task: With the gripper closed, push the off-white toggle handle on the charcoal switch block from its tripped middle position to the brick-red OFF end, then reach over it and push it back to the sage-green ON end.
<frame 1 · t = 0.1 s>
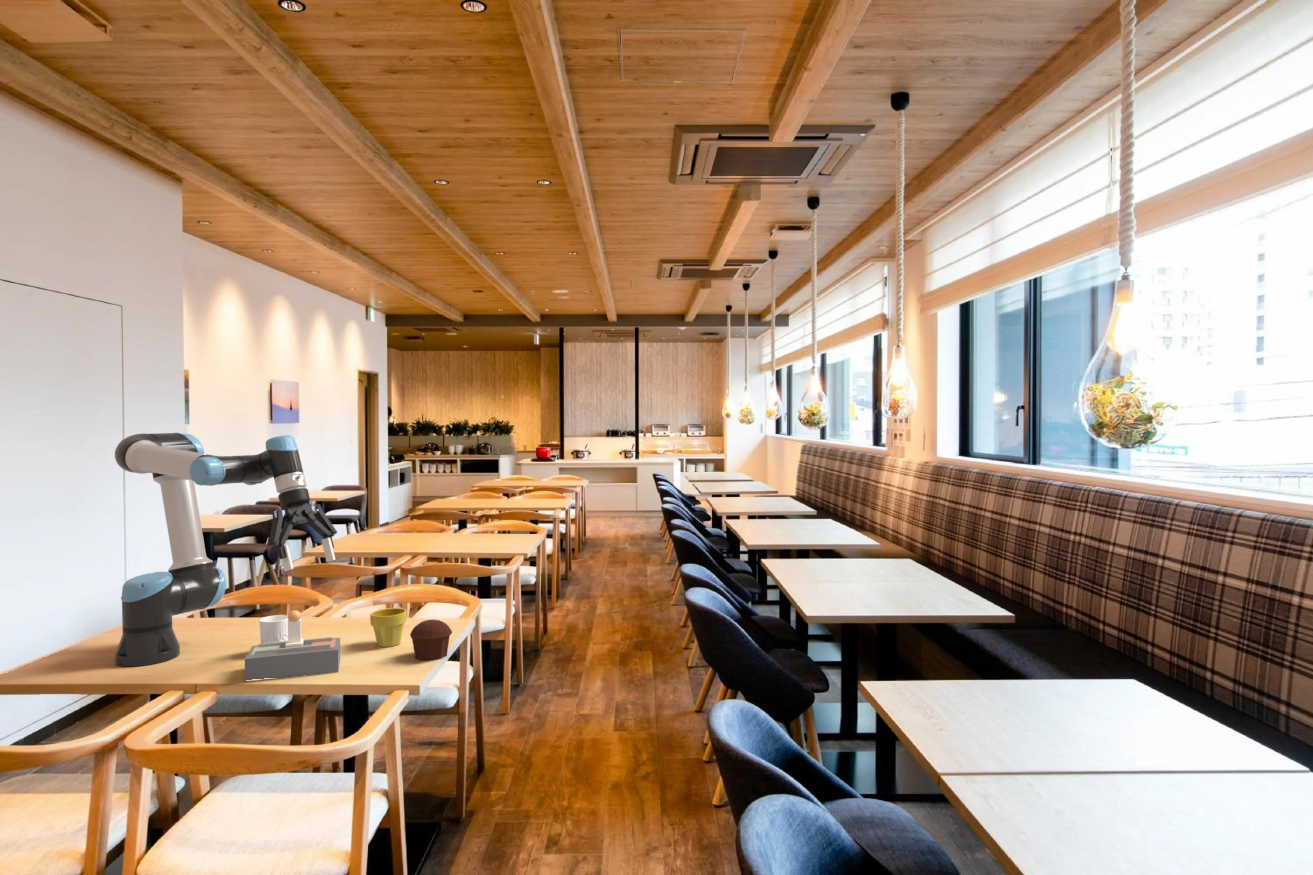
hand: (310, 565, 201), 28 cm above the table, tool tilted 20°, fingers open, 13 cm apart
plant pot: (388, 644, 222), on the table
white cup: (275, 653, 214), on the table
switch block: (294, 669, 198), on the table
lever: (294, 628, 198), point 11 cm above the table, slide at 0.0 cm
muffin: (431, 656, 210), on the table
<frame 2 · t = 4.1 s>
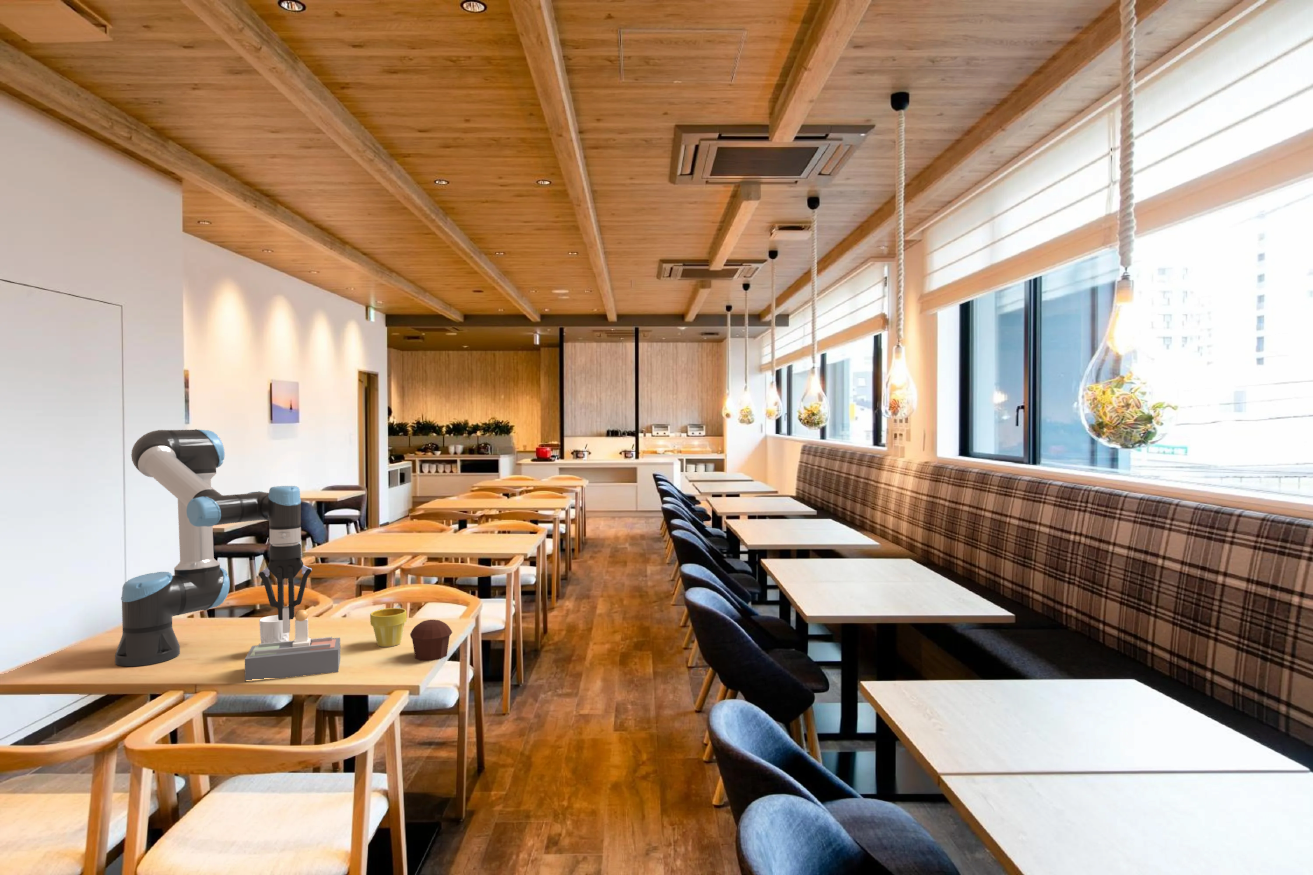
hand: (286, 631, 197), 11 cm above the table, tool pointing down, fingers closed
lever: (301, 627, 199), point 11 cm above the table, slide at 1.7 cm, touching gripper
everything else where it was.
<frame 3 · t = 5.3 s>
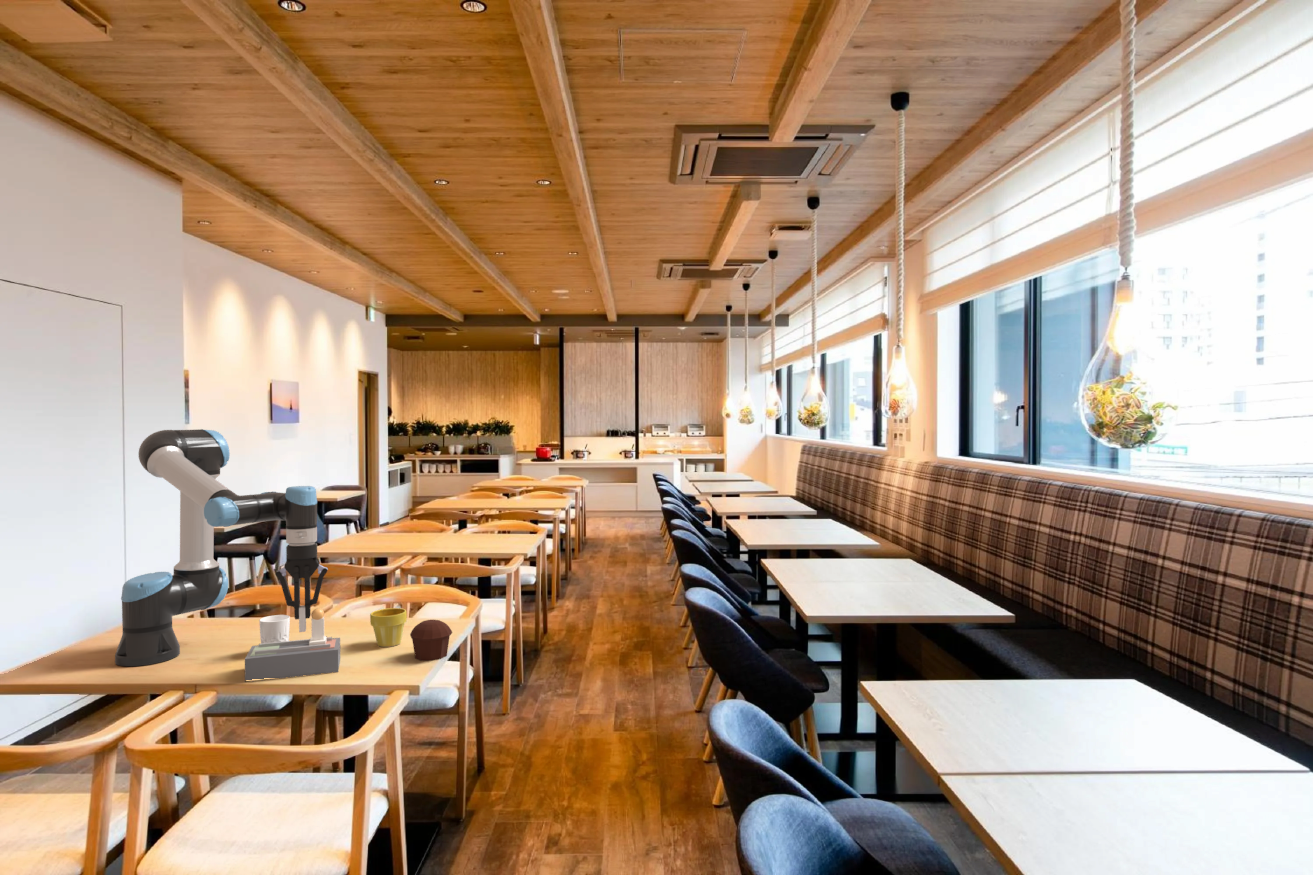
hand: (302, 630, 199), 10 cm above the table, tool pointing down, fingers closed
lever: (317, 626, 200), point 11 cm above the table, slide at 5.7 cm, touching gripper
everything else where it was.
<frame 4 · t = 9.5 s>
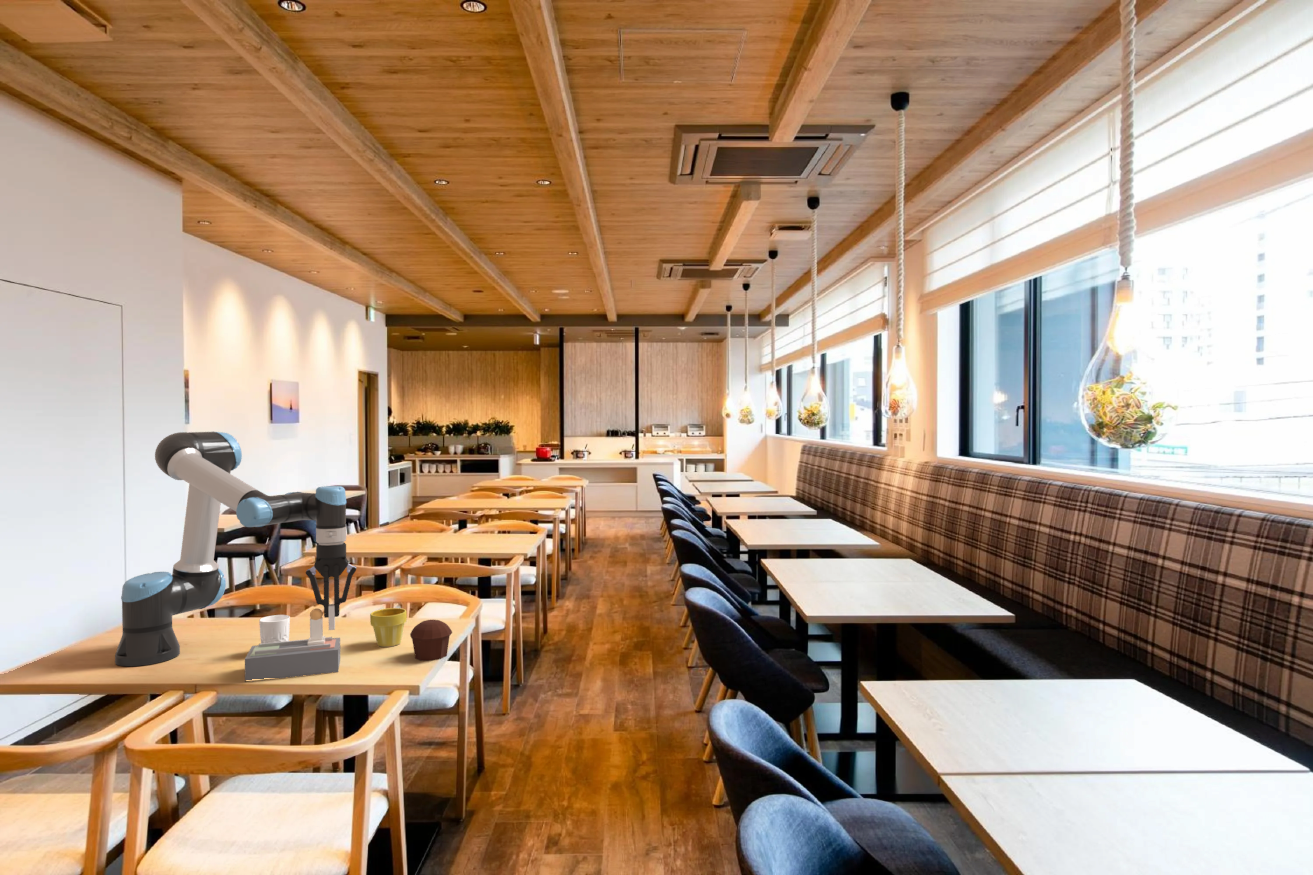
hand: (331, 628, 202), 10 cm above the table, tool pointing down, fingers closed
lever: (316, 626, 200), point 11 cm above the table, slide at 5.3 cm, touching gripper
everything else where it was.
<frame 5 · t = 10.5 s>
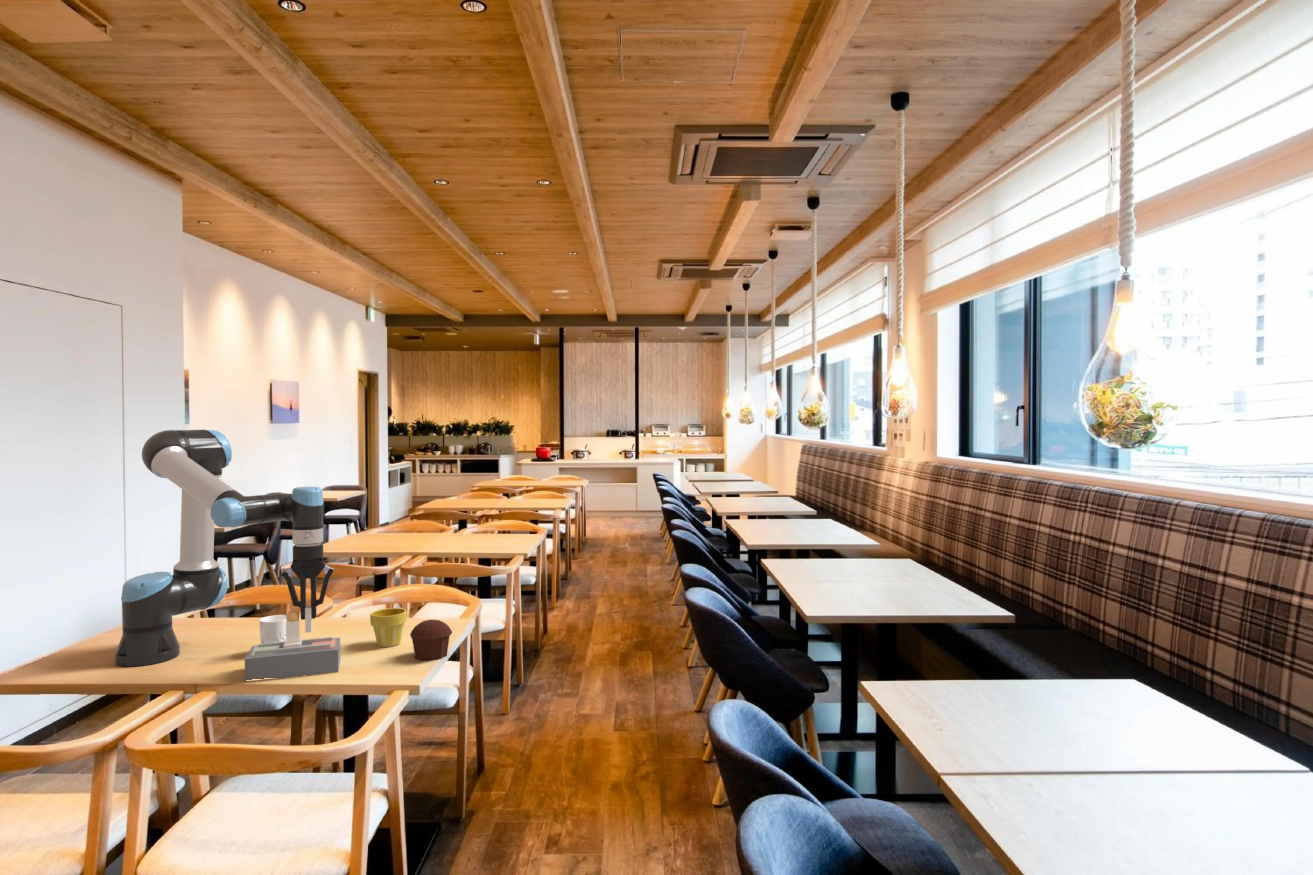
hand: (308, 630, 200), 10 cm above the table, tool pointing down, fingers closed
lever: (292, 628, 198), point 11 cm above the table, slide at -0.4 cm, touching gripper
everything else where it was.
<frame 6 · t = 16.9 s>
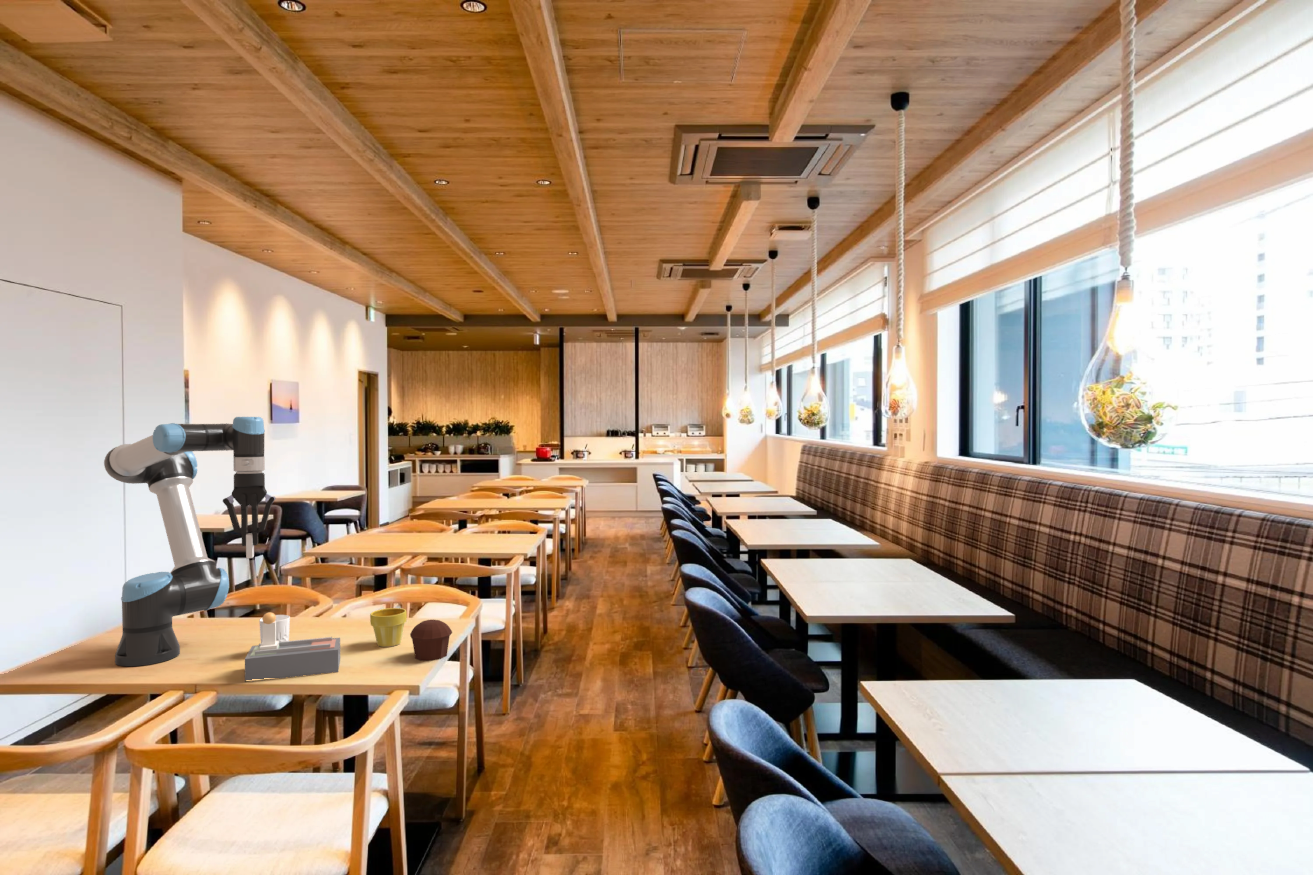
hand: (250, 557, 204), 29 cm above the table, tool pointing down, fingers closed
lever: (269, 630, 196), point 11 cm above the table, slide at -6.1 cm
everything else where it was.
at the end: lever slide at -6.1 cm; white cup moved 0.2 cm from its start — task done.
